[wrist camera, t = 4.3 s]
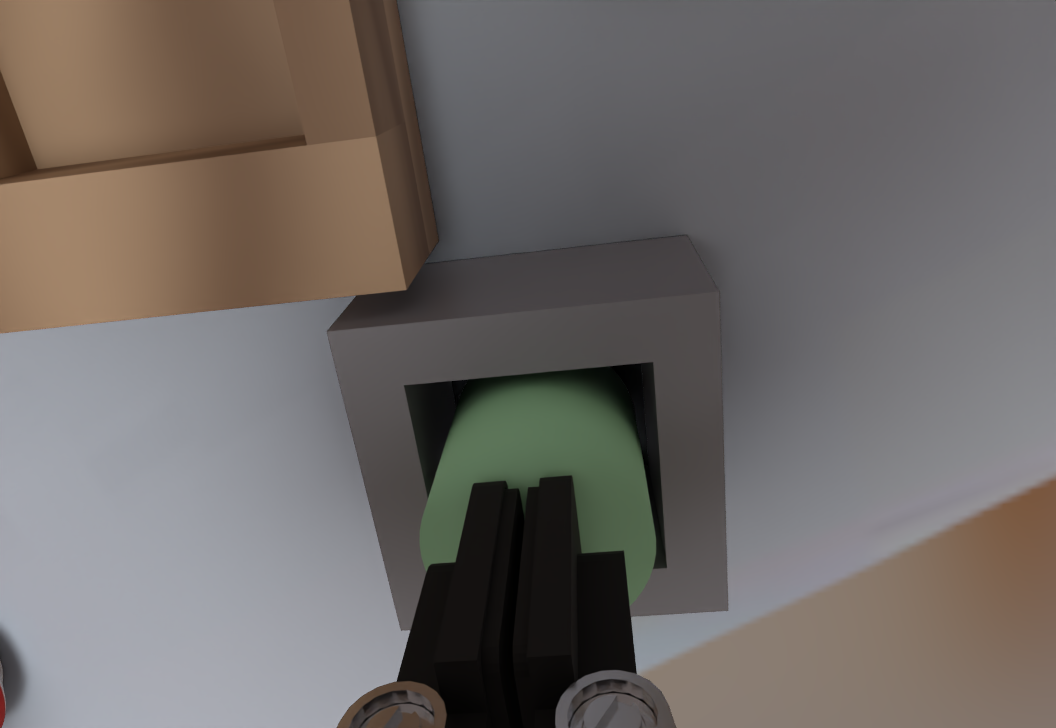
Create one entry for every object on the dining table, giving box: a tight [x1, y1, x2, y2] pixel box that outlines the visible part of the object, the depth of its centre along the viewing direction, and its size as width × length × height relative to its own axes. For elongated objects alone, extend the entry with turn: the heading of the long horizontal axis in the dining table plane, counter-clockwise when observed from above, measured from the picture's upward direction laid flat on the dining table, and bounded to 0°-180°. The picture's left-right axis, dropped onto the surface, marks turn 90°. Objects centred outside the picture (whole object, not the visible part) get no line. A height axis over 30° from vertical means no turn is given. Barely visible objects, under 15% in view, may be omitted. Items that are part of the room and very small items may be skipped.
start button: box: [420, 366, 656, 605], centre depth 15 cm, size 4×4×4 cm
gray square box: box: [327, 235, 728, 631], centre depth 16 cm, size 7×7×4 cm
